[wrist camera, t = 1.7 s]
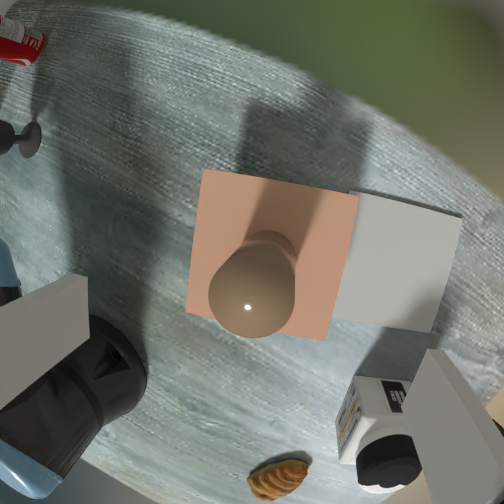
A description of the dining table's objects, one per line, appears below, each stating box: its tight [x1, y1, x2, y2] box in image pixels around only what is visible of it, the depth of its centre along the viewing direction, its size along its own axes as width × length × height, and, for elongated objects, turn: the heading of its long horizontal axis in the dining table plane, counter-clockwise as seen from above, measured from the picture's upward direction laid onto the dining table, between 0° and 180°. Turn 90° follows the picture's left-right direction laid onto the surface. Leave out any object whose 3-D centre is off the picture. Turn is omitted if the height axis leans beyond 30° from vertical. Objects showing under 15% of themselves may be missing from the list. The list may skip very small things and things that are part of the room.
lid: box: [186, 169, 359, 341], centre depth 21 cm, size 12×12×10 cm
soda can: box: [0, 16, 45, 66], centre depth 24 cm, size 6×6×12 cm
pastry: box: [247, 459, 307, 501], centre depth 37 cm, size 9×7×4 cm
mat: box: [331, 190, 463, 333], centre depth 30 cm, size 13×13×1 cm
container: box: [335, 376, 422, 494], centre depth 28 cm, size 8×8×13 cm
